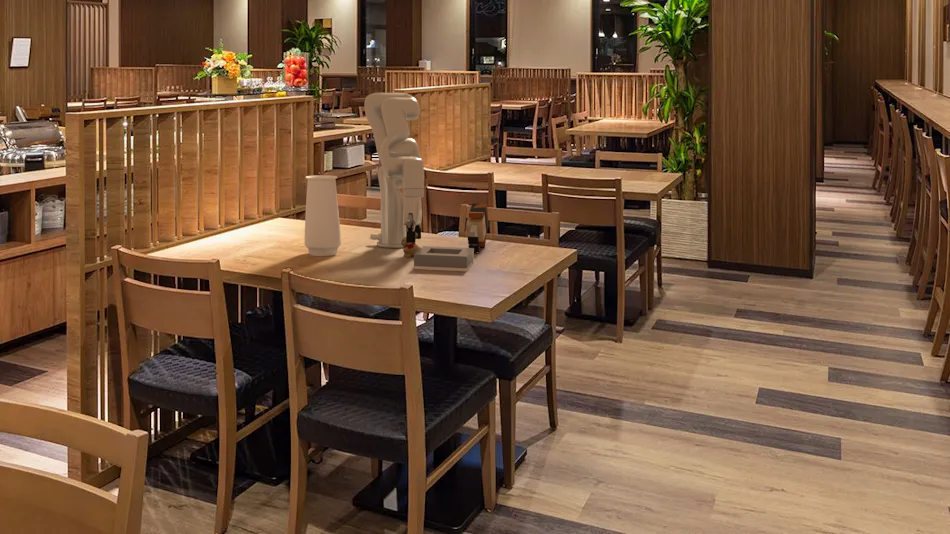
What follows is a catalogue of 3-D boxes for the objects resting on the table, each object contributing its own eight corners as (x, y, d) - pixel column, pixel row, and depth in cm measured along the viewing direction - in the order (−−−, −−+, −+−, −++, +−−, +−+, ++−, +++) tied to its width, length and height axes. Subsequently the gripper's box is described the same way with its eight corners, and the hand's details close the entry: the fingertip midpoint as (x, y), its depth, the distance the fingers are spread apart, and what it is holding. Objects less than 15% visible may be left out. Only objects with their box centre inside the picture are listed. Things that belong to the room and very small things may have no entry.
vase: (301, 251, 328) (299, 175, 323) (335, 249, 333) (334, 174, 328) (309, 258, 317) (307, 179, 311) (345, 255, 322) (343, 178, 316)
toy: (476, 228, 324) (486, 198, 340) (461, 227, 325) (471, 198, 341) (480, 263, 334) (489, 232, 349) (465, 262, 335) (474, 232, 350)
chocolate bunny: (410, 254, 327) (410, 227, 325) (426, 256, 322) (426, 229, 320) (399, 256, 323) (399, 228, 321) (415, 259, 318) (415, 231, 316)
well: (413, 269, 300) (413, 254, 299) (423, 260, 316) (423, 246, 315) (466, 271, 298) (467, 256, 297) (473, 262, 313) (473, 248, 312)
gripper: (408, 190, 326) (408, 237, 329) (397, 195, 310) (398, 243, 312) (428, 191, 325) (428, 237, 328) (418, 195, 309) (419, 244, 311)
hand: (413, 240), depth 320 cm, fingers open, 9 cm apart
